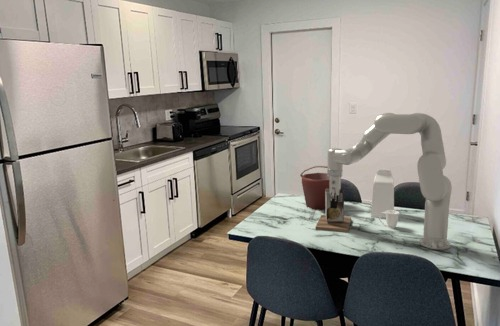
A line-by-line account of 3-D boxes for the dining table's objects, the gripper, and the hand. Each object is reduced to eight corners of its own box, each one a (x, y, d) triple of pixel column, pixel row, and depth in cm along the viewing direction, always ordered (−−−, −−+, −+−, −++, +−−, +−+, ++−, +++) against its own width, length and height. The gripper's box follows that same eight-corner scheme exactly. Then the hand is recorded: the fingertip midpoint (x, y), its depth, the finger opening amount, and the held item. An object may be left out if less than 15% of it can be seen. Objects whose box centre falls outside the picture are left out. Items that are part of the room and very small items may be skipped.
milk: (370, 216, 212) (372, 170, 208) (371, 211, 223) (373, 167, 218) (394, 218, 208) (396, 171, 204) (393, 212, 219) (395, 167, 215)
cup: (396, 230, 190) (397, 214, 189) (376, 226, 196) (376, 211, 195) (400, 226, 196) (401, 211, 194) (381, 223, 202) (382, 208, 200)
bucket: (345, 204, 238) (346, 164, 234) (333, 213, 219) (334, 170, 215) (308, 199, 250) (308, 161, 246) (294, 208, 231) (294, 167, 227)
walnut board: (348, 232, 189) (348, 229, 189) (315, 229, 194) (315, 226, 194) (351, 219, 208) (351, 217, 207) (321, 217, 213) (321, 214, 213)
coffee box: (342, 217, 203) (342, 188, 200) (344, 221, 197) (344, 190, 194) (324, 217, 204) (325, 188, 201) (326, 221, 198) (326, 191, 195)
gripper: (340, 176, 187) (340, 211, 190) (344, 169, 203) (343, 202, 206) (325, 175, 189) (324, 210, 192) (329, 169, 206) (329, 201, 208)
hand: (334, 205), depth 199 cm, fingers closed on coffee box, 7 cm apart
